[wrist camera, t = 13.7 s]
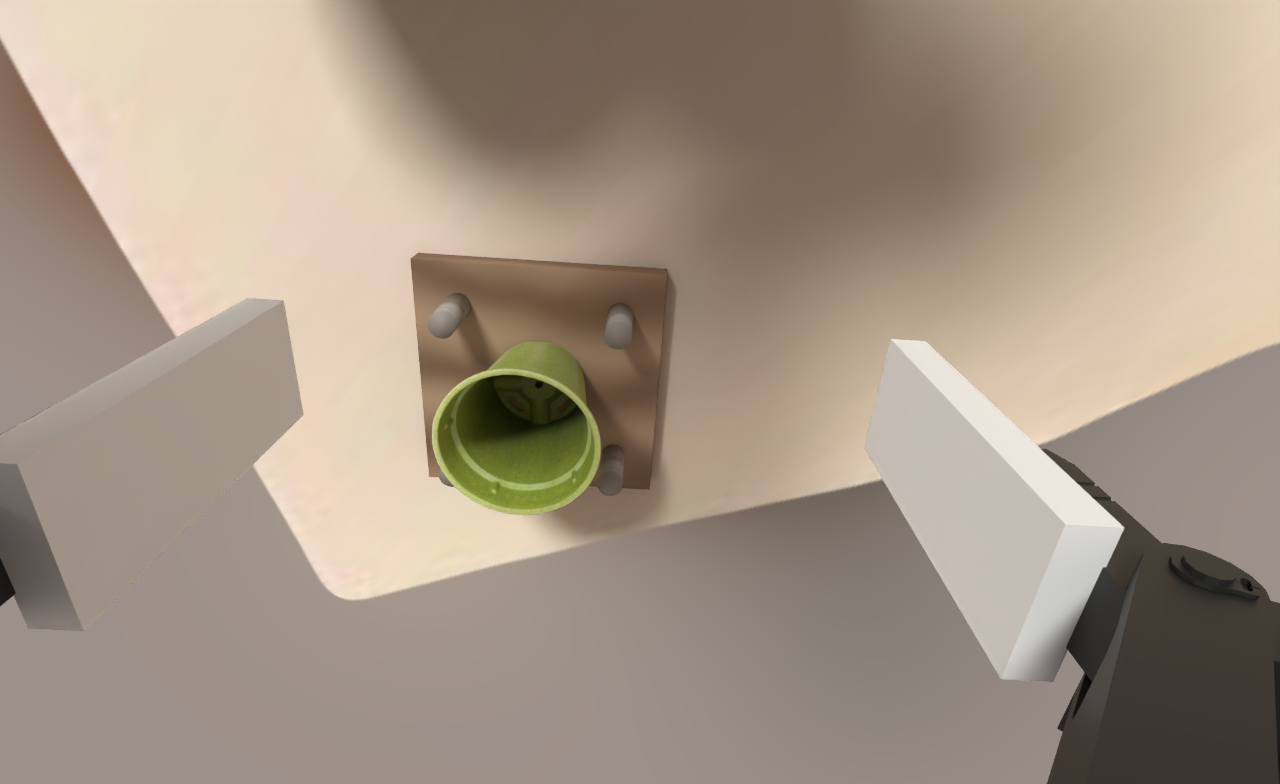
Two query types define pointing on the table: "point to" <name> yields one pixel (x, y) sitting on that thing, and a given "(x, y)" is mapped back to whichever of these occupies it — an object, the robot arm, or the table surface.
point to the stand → (556, 313)
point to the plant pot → (519, 432)
